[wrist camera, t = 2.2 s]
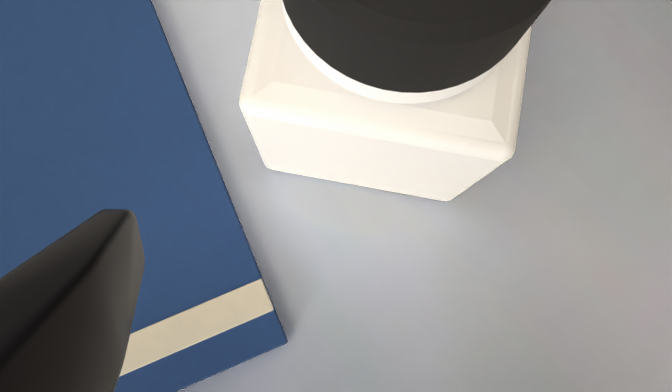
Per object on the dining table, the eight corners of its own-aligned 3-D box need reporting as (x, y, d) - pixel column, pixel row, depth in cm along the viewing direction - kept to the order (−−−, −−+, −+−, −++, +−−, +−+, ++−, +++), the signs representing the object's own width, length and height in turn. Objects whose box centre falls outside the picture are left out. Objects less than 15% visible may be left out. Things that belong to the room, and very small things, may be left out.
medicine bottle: (452, 204, 21) (621, 92, 9) (262, 169, 21) (190, 14, 9) (478, 26, 22) (657, -272, 11) (298, -6, 22) (275, -341, 11)
